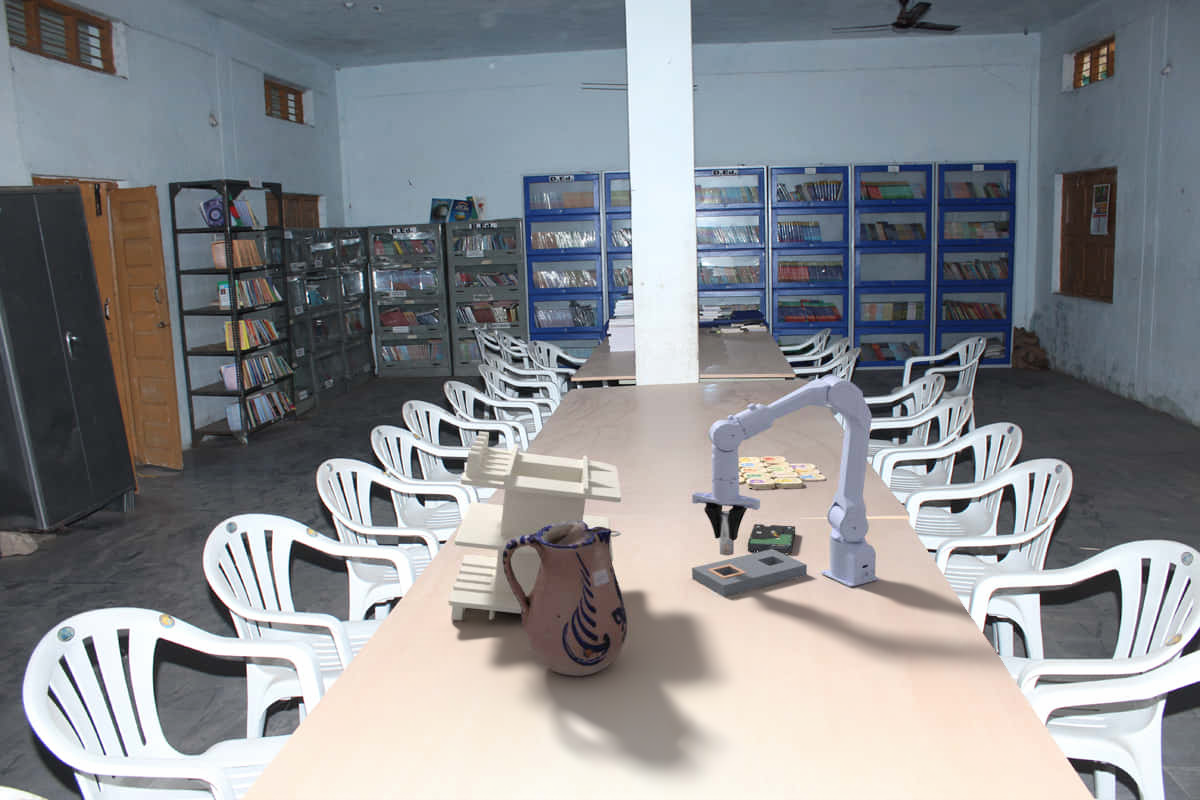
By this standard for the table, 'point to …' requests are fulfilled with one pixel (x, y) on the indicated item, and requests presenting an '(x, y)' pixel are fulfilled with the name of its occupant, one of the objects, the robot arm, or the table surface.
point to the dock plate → (748, 572)
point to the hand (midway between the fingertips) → (726, 538)
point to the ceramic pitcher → (571, 598)
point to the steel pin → (725, 534)
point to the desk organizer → (520, 517)
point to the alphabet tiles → (775, 473)
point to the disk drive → (771, 538)
